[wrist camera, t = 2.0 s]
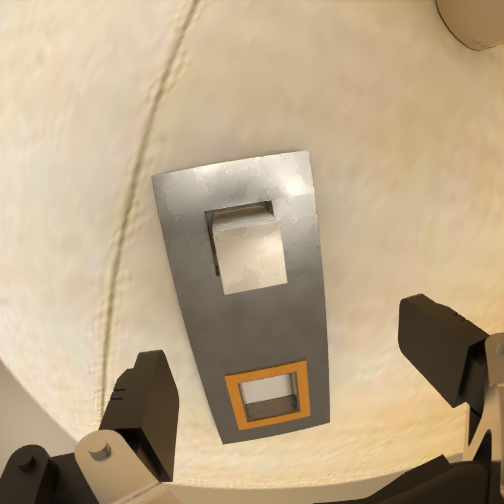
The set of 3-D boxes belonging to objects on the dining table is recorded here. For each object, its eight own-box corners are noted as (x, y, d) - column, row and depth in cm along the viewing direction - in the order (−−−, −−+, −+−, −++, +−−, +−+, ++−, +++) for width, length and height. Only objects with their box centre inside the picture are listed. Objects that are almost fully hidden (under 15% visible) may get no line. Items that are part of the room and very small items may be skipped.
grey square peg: (213, 213, 27) (212, 232, 19) (260, 205, 27) (279, 220, 19) (221, 258, 28) (224, 294, 20) (267, 250, 28) (287, 282, 20)
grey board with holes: (157, 175, 25) (151, 176, 23) (300, 151, 26) (309, 150, 23) (221, 429, 33) (222, 445, 30) (323, 408, 34) (330, 423, 31)
